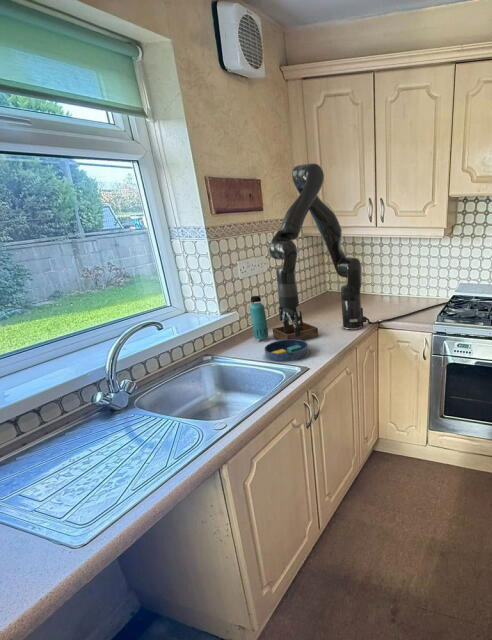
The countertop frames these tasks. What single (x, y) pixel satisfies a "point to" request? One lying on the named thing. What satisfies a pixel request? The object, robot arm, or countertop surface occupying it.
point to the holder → (305, 331)
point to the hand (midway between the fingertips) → (292, 334)
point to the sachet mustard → (280, 351)
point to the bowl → (284, 345)
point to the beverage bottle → (258, 319)
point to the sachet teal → (294, 348)
